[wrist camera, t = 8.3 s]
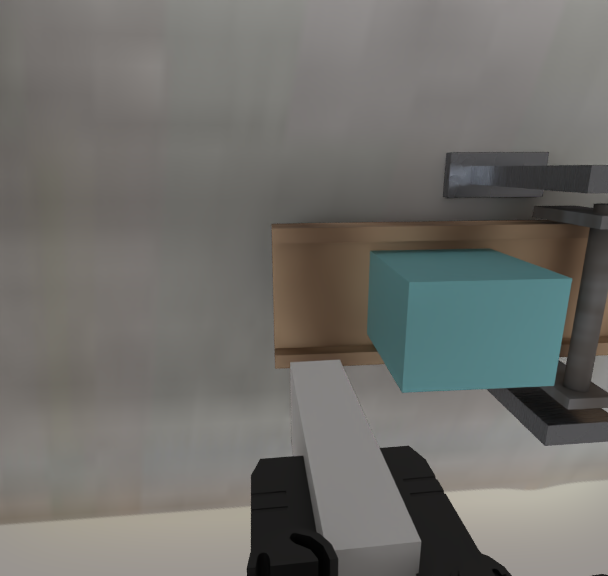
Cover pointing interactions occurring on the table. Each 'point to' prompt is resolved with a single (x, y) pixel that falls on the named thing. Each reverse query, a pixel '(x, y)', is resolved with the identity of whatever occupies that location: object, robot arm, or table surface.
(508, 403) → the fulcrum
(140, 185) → the table surface
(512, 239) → the beam
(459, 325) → the block
